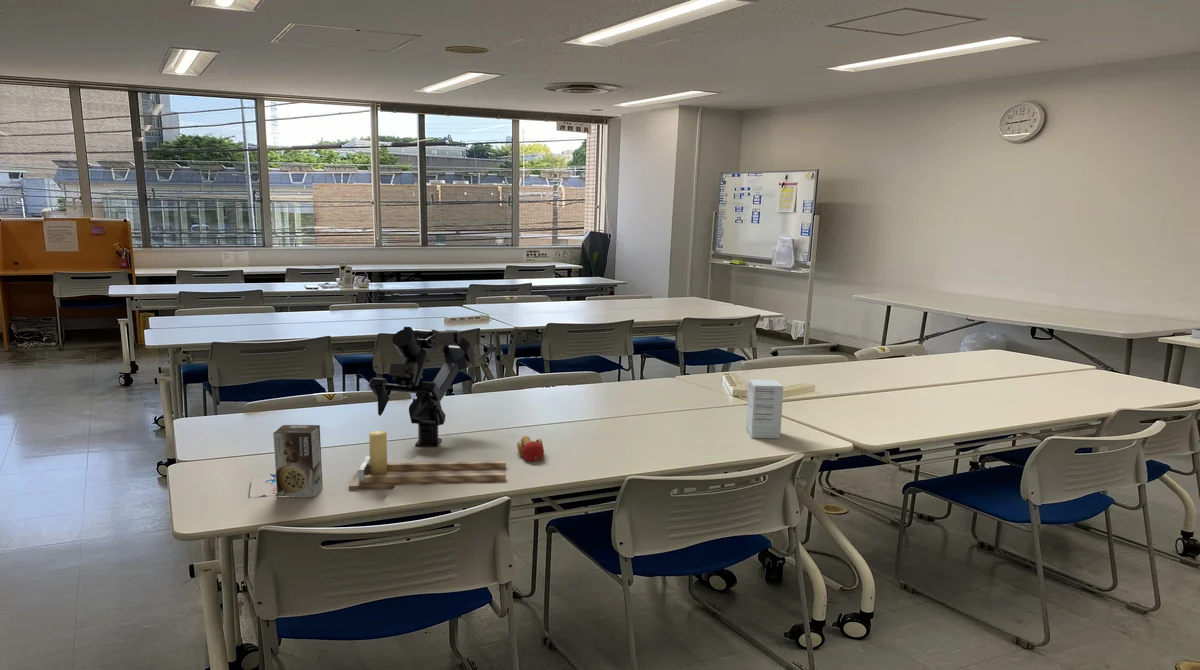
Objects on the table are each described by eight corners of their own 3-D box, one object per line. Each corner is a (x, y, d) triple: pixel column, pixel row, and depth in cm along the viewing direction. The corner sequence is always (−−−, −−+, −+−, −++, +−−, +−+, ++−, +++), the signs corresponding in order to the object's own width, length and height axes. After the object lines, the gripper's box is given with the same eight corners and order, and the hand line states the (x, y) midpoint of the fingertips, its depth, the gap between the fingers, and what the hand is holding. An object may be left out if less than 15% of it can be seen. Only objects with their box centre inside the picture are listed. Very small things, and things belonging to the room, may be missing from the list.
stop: (371, 468, 196) (371, 455, 195) (364, 483, 186) (363, 469, 185) (366, 468, 196) (366, 455, 195) (359, 483, 186) (358, 469, 185)
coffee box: (323, 487, 185) (321, 424, 182) (314, 498, 179) (312, 432, 176) (286, 487, 185) (283, 424, 182) (275, 497, 178) (272, 431, 175)
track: (505, 467, 202) (505, 458, 202) (505, 486, 188) (505, 477, 188) (360, 470, 198) (359, 461, 197) (348, 489, 184) (348, 480, 184)
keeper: (382, 471, 194) (381, 430, 193) (390, 475, 191) (389, 433, 190) (367, 474, 191) (366, 433, 190) (374, 479, 188) (373, 436, 187)
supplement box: (780, 439, 234) (784, 386, 231) (751, 438, 234) (754, 385, 231) (773, 430, 243) (776, 379, 240) (745, 429, 243) (748, 378, 240)
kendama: (509, 451, 220) (518, 463, 203) (513, 429, 221) (522, 440, 203) (535, 454, 222) (546, 466, 205) (539, 433, 222) (550, 443, 205)
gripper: (371, 348, 204) (351, 398, 195) (435, 352, 200) (418, 403, 191) (385, 371, 213) (367, 419, 204) (447, 375, 209) (431, 424, 200)
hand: (395, 416), depth 200 cm, fingers open, 9 cm apart
